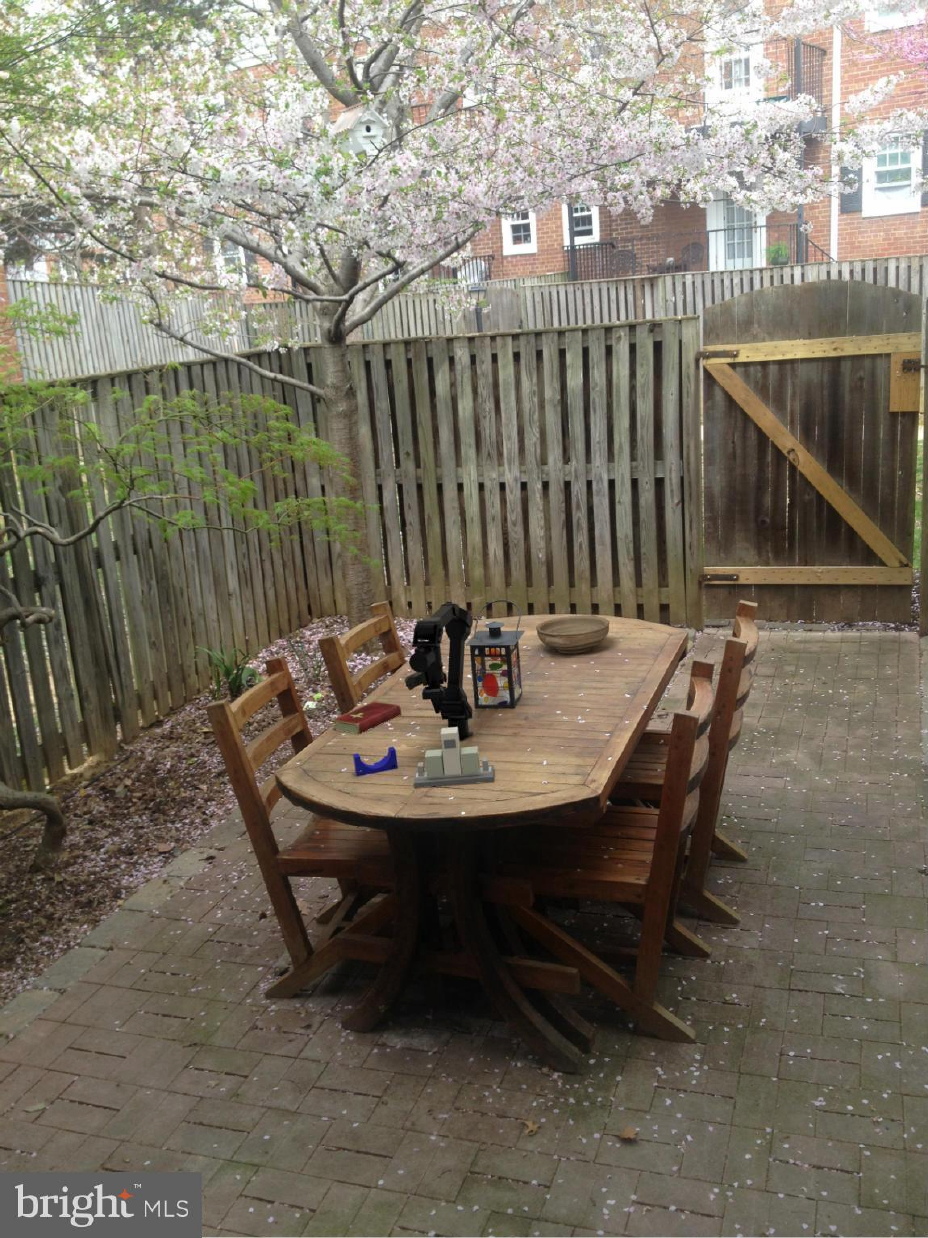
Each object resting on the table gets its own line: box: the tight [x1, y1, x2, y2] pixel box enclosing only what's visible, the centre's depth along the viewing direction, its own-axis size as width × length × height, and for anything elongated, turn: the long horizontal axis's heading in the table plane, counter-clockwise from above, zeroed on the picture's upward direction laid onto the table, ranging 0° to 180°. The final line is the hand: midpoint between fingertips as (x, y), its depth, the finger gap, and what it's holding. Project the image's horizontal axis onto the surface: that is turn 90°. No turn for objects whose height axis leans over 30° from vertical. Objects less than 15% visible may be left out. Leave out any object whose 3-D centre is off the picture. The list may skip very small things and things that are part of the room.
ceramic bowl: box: [535, 614, 610, 654], centre depth 418 cm, size 37×29×10 cm
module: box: [440, 727, 462, 775], centre depth 295 cm, size 5×4×12 cm
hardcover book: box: [330, 700, 402, 736], centre depth 354 cm, size 12×21×4 cm, turn 142°
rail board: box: [413, 745, 495, 789], centre depth 297 cm, size 9×22×8 cm, turn 88°
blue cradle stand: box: [352, 746, 399, 777], centre depth 310 cm, size 12×4×6 cm, turn 107°
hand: (437, 713), depth 315 cm, fingers closed
